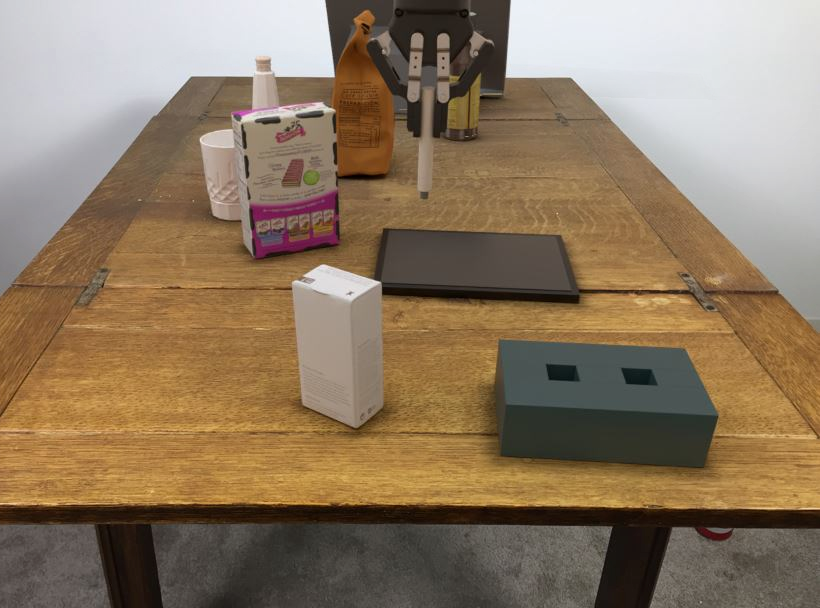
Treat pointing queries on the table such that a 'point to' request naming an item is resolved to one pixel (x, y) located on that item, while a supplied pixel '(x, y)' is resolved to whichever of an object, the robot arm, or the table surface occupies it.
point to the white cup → (221, 174)
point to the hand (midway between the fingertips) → (426, 135)
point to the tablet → (475, 265)
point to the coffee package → (362, 108)
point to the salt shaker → (264, 85)
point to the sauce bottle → (463, 99)
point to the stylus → (426, 141)
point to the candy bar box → (287, 177)
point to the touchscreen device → (491, 24)
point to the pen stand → (601, 403)
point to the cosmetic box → (339, 343)
